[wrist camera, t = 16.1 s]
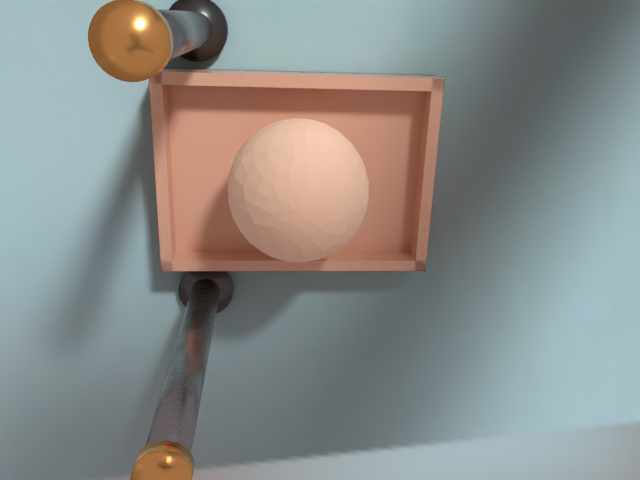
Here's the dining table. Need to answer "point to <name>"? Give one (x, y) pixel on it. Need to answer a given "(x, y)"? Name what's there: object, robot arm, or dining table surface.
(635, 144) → the dining table surface
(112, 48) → the pole corner
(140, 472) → the pole
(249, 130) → the tray
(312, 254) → the egg
